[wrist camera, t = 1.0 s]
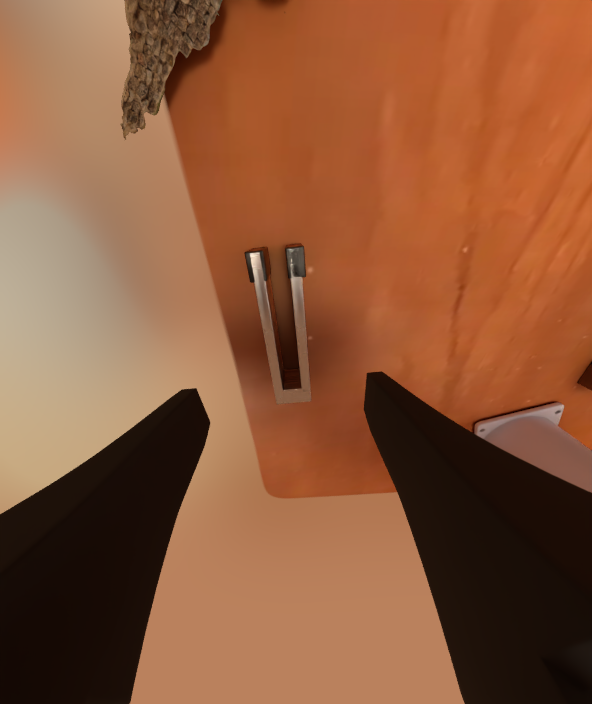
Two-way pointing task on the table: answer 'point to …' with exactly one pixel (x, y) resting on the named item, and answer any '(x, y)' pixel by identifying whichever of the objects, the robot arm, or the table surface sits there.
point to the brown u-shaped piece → (285, 382)
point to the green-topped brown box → (587, 378)
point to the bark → (160, 49)
